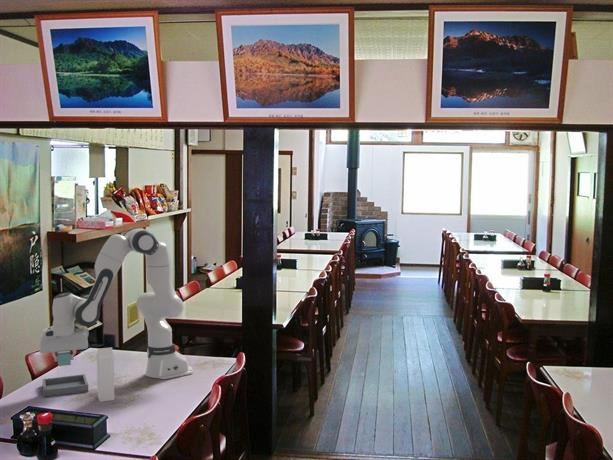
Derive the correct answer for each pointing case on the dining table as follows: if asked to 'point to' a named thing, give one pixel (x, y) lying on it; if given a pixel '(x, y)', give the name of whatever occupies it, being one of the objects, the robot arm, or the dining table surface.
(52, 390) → the tray
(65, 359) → the block
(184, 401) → the dining table surface
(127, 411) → the dining table surface
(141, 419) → the dining table surface
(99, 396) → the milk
